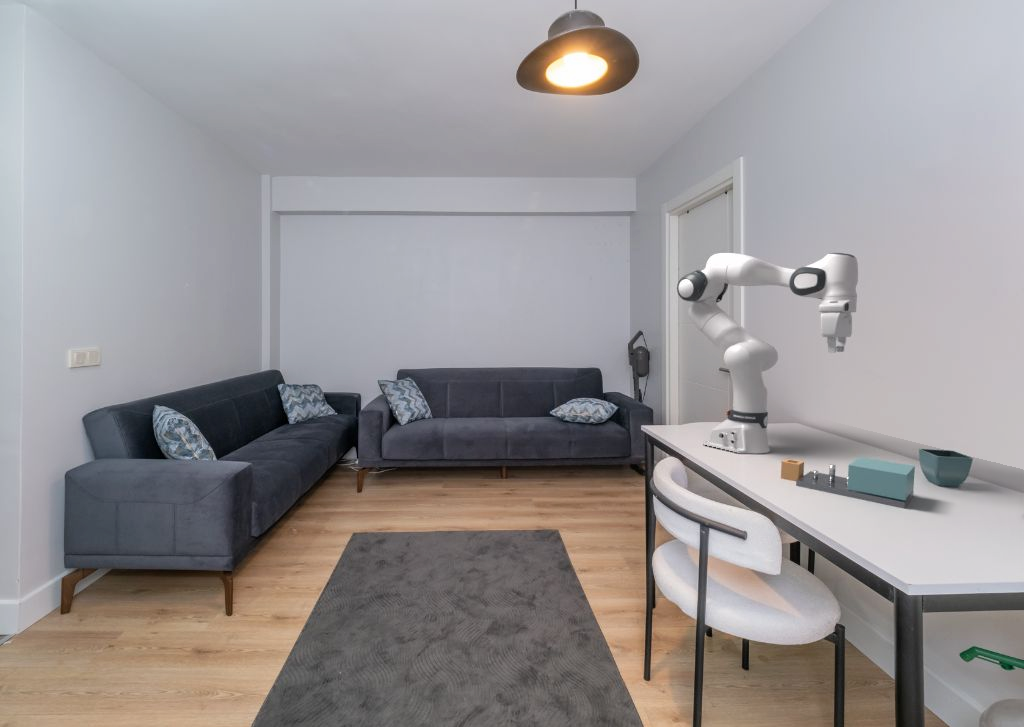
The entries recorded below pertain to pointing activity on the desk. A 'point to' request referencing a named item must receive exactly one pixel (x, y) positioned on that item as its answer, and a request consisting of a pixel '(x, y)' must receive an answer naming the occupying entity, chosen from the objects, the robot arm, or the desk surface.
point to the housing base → (844, 487)
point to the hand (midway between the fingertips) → (836, 352)
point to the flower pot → (945, 466)
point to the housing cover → (881, 478)
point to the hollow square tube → (792, 469)
